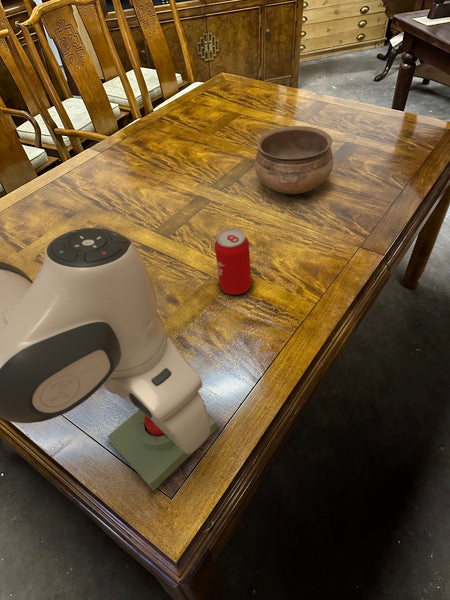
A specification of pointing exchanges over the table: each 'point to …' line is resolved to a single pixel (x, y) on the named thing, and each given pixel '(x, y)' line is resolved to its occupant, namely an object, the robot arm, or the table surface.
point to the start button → (152, 428)
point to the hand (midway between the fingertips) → (155, 417)
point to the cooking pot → (294, 159)
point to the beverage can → (233, 261)
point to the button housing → (149, 449)
